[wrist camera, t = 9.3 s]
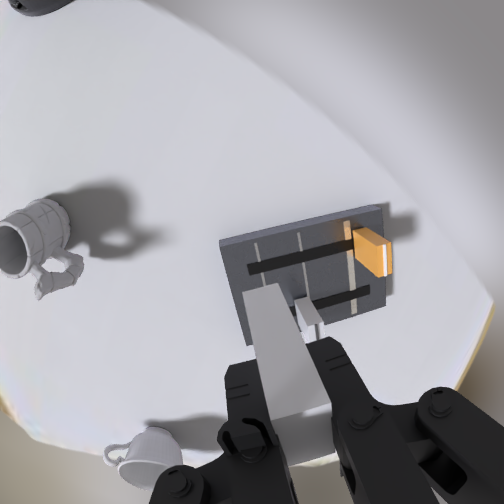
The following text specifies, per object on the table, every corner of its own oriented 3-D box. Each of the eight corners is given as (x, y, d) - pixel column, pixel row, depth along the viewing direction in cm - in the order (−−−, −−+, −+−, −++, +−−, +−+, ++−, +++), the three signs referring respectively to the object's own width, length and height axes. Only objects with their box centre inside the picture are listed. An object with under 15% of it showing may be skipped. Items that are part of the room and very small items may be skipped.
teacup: (117, 401, 44) (105, 446, 34) (198, 427, 47) (199, 472, 38) (107, 435, 47) (97, 475, 37) (178, 457, 50) (177, 497, 41)
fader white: (294, 300, 37) (308, 327, 32) (308, 296, 37) (324, 322, 32) (298, 323, 39) (311, 352, 33) (311, 320, 39) (326, 348, 33)
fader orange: (352, 230, 35) (377, 247, 29) (365, 227, 35) (392, 242, 30) (355, 258, 37) (378, 278, 31) (368, 254, 37) (392, 274, 31)
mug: (41, 184, 31) (-15, 203, 20) (107, 240, 35) (68, 281, 24) (19, 230, 33) (-34, 261, 22) (80, 283, 36) (41, 332, 25)
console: (218, 240, 37) (219, 247, 34) (372, 204, 38) (382, 208, 35) (244, 335, 42) (246, 346, 39) (377, 297, 42) (386, 306, 40)
